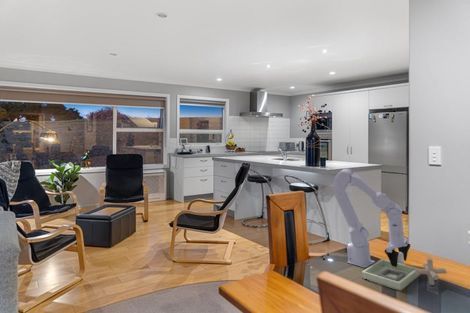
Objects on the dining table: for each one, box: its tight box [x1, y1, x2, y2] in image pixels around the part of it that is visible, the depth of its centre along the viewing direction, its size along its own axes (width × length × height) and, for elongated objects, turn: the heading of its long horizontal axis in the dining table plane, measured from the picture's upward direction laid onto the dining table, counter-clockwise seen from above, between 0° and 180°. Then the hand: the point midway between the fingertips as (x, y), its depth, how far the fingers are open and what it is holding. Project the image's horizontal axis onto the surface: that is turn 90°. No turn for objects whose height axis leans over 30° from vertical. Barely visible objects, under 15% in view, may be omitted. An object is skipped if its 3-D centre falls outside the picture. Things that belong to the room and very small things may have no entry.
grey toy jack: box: [416, 257, 447, 286], centre depth 124 cm, size 10×10×10 cm
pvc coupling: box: [397, 251, 405, 265], centre depth 141 cm, size 4×4×6 cm
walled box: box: [361, 258, 421, 292], centre depth 133 cm, size 16×16×3 cm
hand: (399, 263), depth 141 cm, fingers open, 7 cm apart
